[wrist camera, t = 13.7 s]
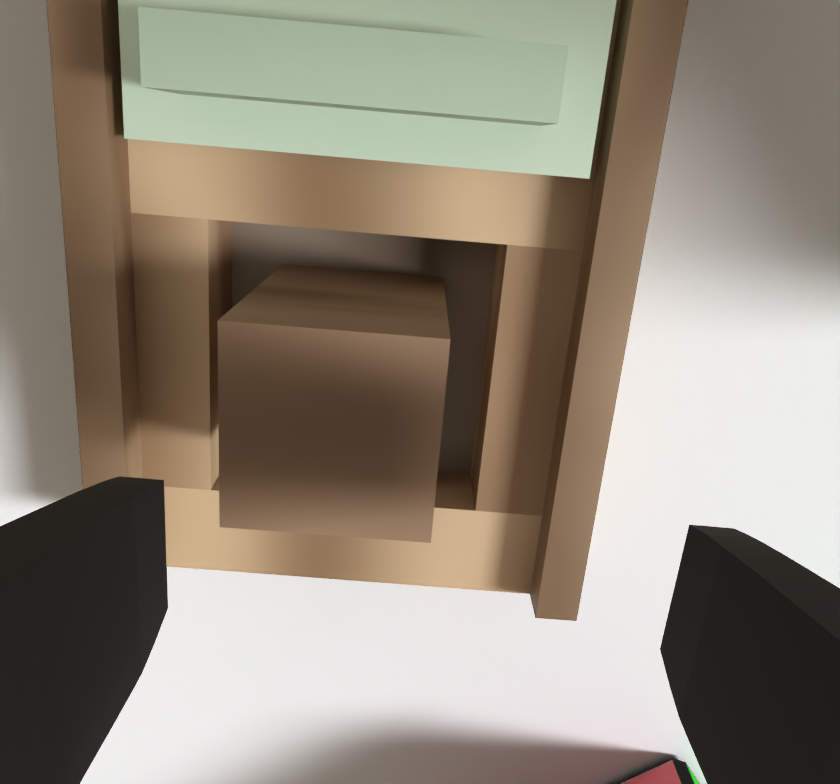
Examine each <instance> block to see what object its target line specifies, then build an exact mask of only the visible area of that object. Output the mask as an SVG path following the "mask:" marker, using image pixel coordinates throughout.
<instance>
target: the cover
mask: <svg viewBox="0 0 840 784" xmlns="http://www.w3.org/2000/svg"><path fill="white" fill-rule="evenodd" d="M616 1H617V0H118V14H119V35H120V57H121V79H122V100H123V122H124V138H125V139H137V140H148V141H160V142H171V143H183V144H194V145H206V146H217V147H229V148H240V149H252V150H263V151H275V152H286V153H298V154H309V155H321V156H332V157H344V158H355V159H367V160H378V161H390V162H401V163H413V164H424V165H436V166H447V167H459V168H470V169H482V170H493V171H505V172H516V173H528V174H539V175H551V176H562V177H574V178H585V179H590V172H591V165H592V159H593V152H594V146H595V139H596V133H597V126H598V119H599V113H600V106H601V100H602V93H603V87H604V80H605V73H606V67H607V60H608V54H609V47H610V40H611V34H612V27H613V21H614V14H615V8H616Z"/></svg>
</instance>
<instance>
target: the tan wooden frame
mask: <svg viewBox="0 0 840 784" xmlns="http://www.w3.org/2000/svg"><path fill="white" fill-rule="evenodd" d="M687 5H688V0H617V1H616V8H615V14H614V21H613V27H612V34H611V40H610V47H609V54H608V60H607V67H606V73H605V80H604V87H603V93H602V100H601V106H600V113H599V119H598V126H597V133H596V139H595V146H594V152H593V159H592V165H591V172H590V179H585V178H574V177H562V176H551V175H539V174H528V173H516V172H505V171H493V170H482V169H470V168H459V167H447V166H436V165H424V164H413V163H401V162H390V161H378V160H367V159H355V158H344V157H332V156H321V155H309V154H298V153H286V152H275V151H263V150H252V149H240V148H229V147H217V146H206V145H194V144H183V143H171V142H160V141H148V140H137V139H125V138H124V122H123V100H122V79H121V57H120V35H119V14H118V0H47V14H48V27H49V41H50V54H51V67H52V81H53V94H54V108H55V121H56V135H57V148H58V161H59V175H60V188H61V202H62V215H63V229H64V242H65V255H66V269H67V282H68V296H69V309H70V322H71V336H72V349H73V363H74V376H75V390H76V403H77V416H78V430H79V443H80V457H81V470H82V483H83V489H86V488H88V487H90V486H93V485H95V484H98V483H100V482H103V481H106V480H109V479H112V478H115V477H119V476H122V477H133V478H145V479H157V480H164V498H165V532H166V566H170V567H183V568H196V569H210V570H223V571H236V572H249V573H262V574H276V575H289V576H302V577H315V578H329V579H342V580H355V581H368V582H382V583H395V584H408V585H421V586H434V587H448V588H461V589H474V590H487V591H501V592H514V593H527V594H530V596H531V600H532V604H533V609H534V613H535V618H545V619H559V620H572V621H576V620H577V614H578V609H579V603H580V597H581V592H582V586H583V581H584V575H585V570H586V564H587V559H588V553H589V548H590V542H591V536H592V531H593V525H594V520H595V514H596V509H597V503H598V498H599V492H600V487H601V481H602V476H603V470H604V464H605V459H606V453H607V448H608V442H609V437H610V431H611V426H612V420H613V415H614V409H615V404H616V398H617V392H618V387H619V381H620V376H621V370H622V365H623V359H624V354H625V348H626V343H627V337H628V332H629V326H630V320H631V315H632V309H633V304H634V298H635V293H636V287H637V282H638V276H639V271H640V265H641V259H642V254H643V248H644V243H645V237H646V232H647V226H648V221H649V215H650V210H651V204H652V199H653V193H654V187H655V182H656V176H657V171H658V165H659V160H660V154H661V149H662V143H663V138H664V132H665V127H666V121H667V115H668V110H669V104H670V99H671V93H672V88H673V82H674V77H675V71H676V66H677V60H678V55H679V49H680V43H681V38H682V32H683V27H684V21H685V16H686V10H687ZM281 265H295V266H307V267H319V268H331V269H344V270H356V271H368V272H380V273H393V274H405V275H417V276H430V277H442V278H443V282H444V290H445V298H446V306H447V314H448V322H449V331H450V339H451V340H450V350H449V361H448V371H447V381H446V392H445V402H444V412H443V423H442V433H441V443H440V454H439V464H438V474H437V484H436V495H435V505H434V515H433V526H432V536H431V543H425V542H411V541H398V540H384V539H371V538H358V537H344V536H331V535H317V534H304V533H291V532H277V531H264V530H250V529H237V528H224V527H220V524H219V425H218V325H217V321H218V320H219V319H220V318H221V317H222V316H223V315H225V314H226V313H227V312H228V311H229V310H230V309H232V308H233V307H234V306H235V305H236V304H237V303H238V302H240V301H241V300H242V299H243V298H244V297H245V296H247V295H248V294H249V293H250V292H251V291H252V290H254V289H255V288H256V287H257V286H258V285H259V284H261V283H262V282H263V281H264V280H265V279H266V278H268V277H269V276H270V275H271V274H272V273H273V272H274V271H276V270H277V269H278V268H279V267H280V266H281Z"/></svg>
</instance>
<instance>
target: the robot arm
mask: <svg viewBox="0 0 840 784" xmlns="http://www.w3.org/2000/svg"><path fill="white" fill-rule="evenodd" d="M167 609H168V600H167V566H166V532H165V498H164V480H157V479H145V478H133V477H122V476H119V477H115V478H112V479H109V480H106V481H103V482H100V483H98V484H95V485H93V486H90V487H88V488H86V489H83V490H81V491H78V492H76V493H74V494H72V495H69V496H67V497H65V498H63V499H60V500H58V501H56V502H54V503H52V504H49V505H47V506H45V507H43V508H40V509H38V510H36V511H34V512H31V513H29V514H27V515H25V516H23V517H20V518H18V519H16V520H14V521H11V522H9V523H7V524H5V525H2V526H0V784H80V782H81V780H82V778H83V777H84V775H85V773H86V771H87V770H88V768H89V766H90V764H91V763H92V761H93V759H94V757H95V756H96V754H97V752H98V750H99V749H100V747H101V745H102V743H103V742H104V740H105V738H106V736H107V735H108V733H109V731H110V729H111V728H112V726H113V724H114V722H115V721H116V719H117V717H118V715H119V713H120V712H121V710H122V708H123V706H124V705H125V703H126V701H127V699H128V697H129V696H130V694H131V692H132V690H133V688H134V687H135V685H136V683H137V681H138V679H139V677H140V676H141V674H142V672H143V669H144V667H145V664H146V662H147V660H148V657H149V655H150V652H151V650H152V648H153V645H154V643H155V640H156V638H157V635H158V632H159V630H160V627H161V624H162V622H163V619H164V617H165V614H166V611H167ZM660 650H661V654H662V657H663V661H664V665H665V669H666V673H667V677H668V680H669V684H670V688H671V691H672V695H673V698H674V701H675V705H676V708H677V711H678V715H679V718H680V720H681V723H682V725H683V727H684V730H685V732H686V735H687V737H688V739H689V742H690V744H691V746H692V749H693V751H694V753H695V756H696V758H697V761H698V763H699V765H700V768H701V770H702V772H703V775H704V777H705V779H706V781H707V784H840V588H838V587H836V586H835V585H833V584H831V583H830V582H828V581H826V580H825V579H823V578H821V577H820V576H818V575H816V574H815V573H813V572H812V571H810V570H808V569H807V568H805V567H803V566H802V565H800V564H798V563H797V562H795V561H793V560H792V559H790V558H788V557H787V556H785V555H783V554H782V553H780V552H778V551H776V550H775V549H773V548H771V547H769V546H768V545H766V544H764V543H762V542H760V541H759V540H757V539H755V538H753V537H751V536H749V535H747V534H745V533H742V532H740V531H738V530H736V529H732V528H720V527H709V526H697V525H689V529H688V533H687V537H686V542H685V546H684V550H683V554H682V559H681V563H680V567H679V571H678V576H677V580H676V584H675V588H674V593H673V597H672V601H671V605H670V610H669V614H668V618H667V622H666V627H665V631H664V635H663V639H662V644H661V648H660Z"/></svg>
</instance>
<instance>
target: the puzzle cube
mask: <svg viewBox="0 0 840 784" xmlns="http://www.w3.org/2000/svg"><path fill="white" fill-rule="evenodd" d="M619 784H700V783H699V782H698V780H697V779H696V777H695V776H694V774H693V773H692V771H691V770H690V768H689V767H688V765H687V764H686V762H683V761H679V760H676V759H672V760H670V761H667V762H665V763H663V764H661V765H659V766H656V767H654V768H652V769H650V770H648V771H646V772H643V773H641V774H639V775H637V776H635V777H632V778H630V779H628V780H626V781H624V782H621V783H619Z"/></svg>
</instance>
